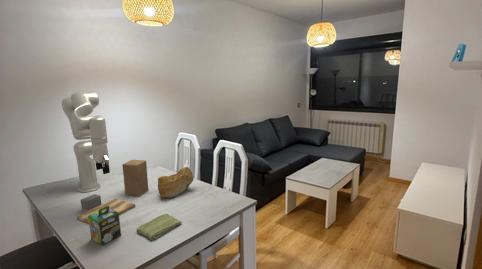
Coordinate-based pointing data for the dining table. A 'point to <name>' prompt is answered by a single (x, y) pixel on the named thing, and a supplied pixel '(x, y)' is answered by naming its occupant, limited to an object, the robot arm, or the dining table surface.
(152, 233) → the washcloth
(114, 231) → the chalk box
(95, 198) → the block
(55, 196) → the dining table surface
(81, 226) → the dining table surface
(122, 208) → the board
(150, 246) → the dining table surface
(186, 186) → the rough brown rock
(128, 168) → the wooden block
